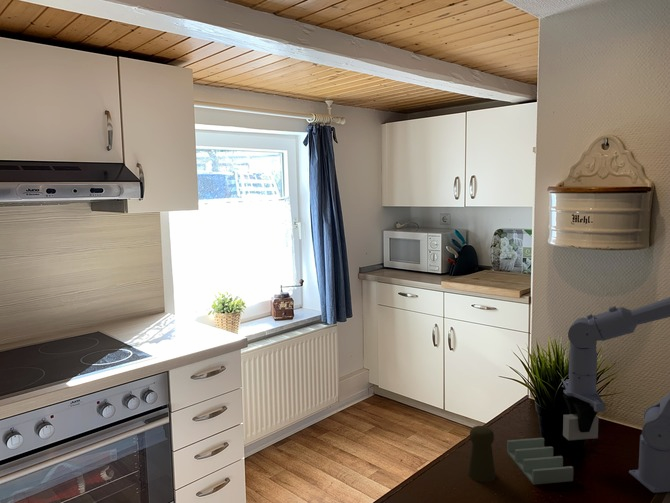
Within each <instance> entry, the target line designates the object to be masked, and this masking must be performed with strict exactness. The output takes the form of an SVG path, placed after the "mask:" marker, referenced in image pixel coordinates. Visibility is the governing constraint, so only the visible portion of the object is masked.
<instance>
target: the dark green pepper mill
mask: <svg viewBox="0 0 670 503" xmlns="http://www.w3.org/2000/svg"><path fill="white" fill-rule="evenodd" d="M469 439H470V441H471V449H470V456H469V462H468V468H467V475H468V477H469V478H470V479H471V480H474V481H475V482H479V483H490V482H493V481H494V480H495V479H496V469H495V463H494V455H493V454H494V453H493V447H492V444H493V443H494V440H495V434H494V432H493V430H492V429H491V428H489V426H486V425H485V426H484V425H474V426H473V427H472V428H471V429H470V430H469Z"/></svg>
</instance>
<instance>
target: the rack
mask: <svg viewBox="0 0 670 503" xmlns="http://www.w3.org/2000/svg"><path fill="white" fill-rule="evenodd" d="M506 442H507V443H506V453H507V454H508V456H509V457H510V458H511V459H512V460H513V462H514V463H515V464H516V465H517V466H518V468H519V469H520V470H521V472H522V473H523V474H524V475H525V476H526V478H527V479H528V480H529V482H530V483H531V484H532V485H545V484H554V483H556V484H557V483H567V482H574V466H572V465H569V466H564V457H563V455H556V456H554V447H553V446H545V438H544V437H535V438H534V437H533V438H522V439H509V440H507V441H506Z"/></svg>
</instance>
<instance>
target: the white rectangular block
mask: <svg viewBox="0 0 670 503" xmlns="http://www.w3.org/2000/svg"><path fill="white" fill-rule="evenodd" d="M562 419H563V420H562V422H563V423H562V426H563V427H562V436H563V437H564V438H565V439H566V440H567V441H578V440H591V439H599V416H598V415H596V416H595V418H594V420H593V423H592V426H591V429H590V432H580V431H579V426H578V416H577V414H570V413H569V414H563V418H562Z"/></svg>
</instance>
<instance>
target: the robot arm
mask: <svg viewBox="0 0 670 503" xmlns="http://www.w3.org/2000/svg"><path fill="white" fill-rule="evenodd" d="M668 318H670V297H666V298H664V299H661V300H658V301H655V302H651V303H649V304H646V305H643V306H640V307H637V308H634V309H628V308H626V307H623V306H620V307H617V306H611V307H609V308H608V311H604V312H600V313H597V314H594V315H593V314H592V313H591V314H588V315H587V316H586V317H580V318H577V319H575V320H574V321H573V323H572V324H571V325H570V327H569V328H568V331H567V332H568V333H567V337H568V340H569V352H568V378H569V379H566V380H565V381H564V380H563V379H564V378H561V381H563V385H562V386H561V388H564V389H563V394H562V398H563V400H564V402H565V403H566V405H567V409H568V412H569V414H577V416H578V426H579V431H580V432H590V429H591V426H592V423H593V420H594V418H595V416H597V415H598V413H601V412H606V402H604V400H603V399H602V398H601V396H600V394H599V392H598V391H597V379H598V377H597V373H598V368H597V367H598V351H597V346H598V345H597V342H598V341H600V342H601V341H603V342H604V341H608V340H610V339H611V340H612V339H616V338H618V337H622V336H625V335H629V334H633V333H634V332H635V330H636V328H637V326H639V325H643V324H647V323H651V322H656V321H660V320H663V319H668ZM643 419H644V420H643V427H642V429H641V434H640V435H639V448H638V449H639V453H638V469H632V470H631V469H630V470H629V471H628V473H629V474H630V475H631V476H632V477H634V479H636V481H638V482H639V483H640V484H641V485H643V486H644V487H645V488H647V489H648V490H649V491H650V493H654V494H656V493H669V492H670V391H669V392H668V394H667V395H666V396H663V397H662V398H660V401H658V402H657V403H656V404H653V405H650V406H649V407H647V408H646V409H645V411H644V416H643Z"/></svg>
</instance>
